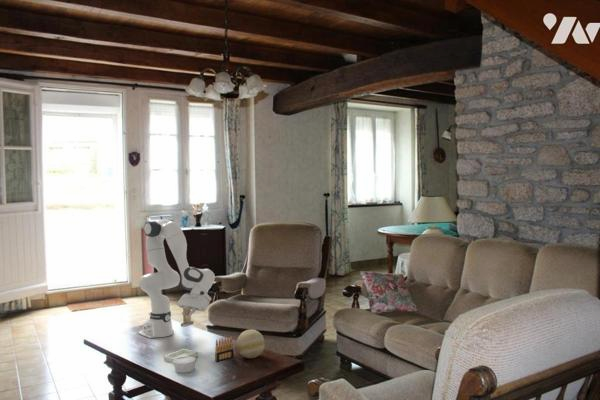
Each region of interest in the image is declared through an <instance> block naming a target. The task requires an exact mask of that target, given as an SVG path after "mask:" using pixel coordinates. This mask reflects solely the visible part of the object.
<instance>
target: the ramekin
mask: <svg viewBox="0 0 600 400" xmlns="http://www.w3.org/2000/svg"><path fill="white" fill-rule="evenodd" d="M196 359H197V358H196V357H191V356H184V357H179V358H176V359H174V360H173V363H172V364H173V367H174V371H175V372H176V373H178V374H188V373H191V372H193V371H194V369H195V367H196V361H197V360H196Z"/></svg>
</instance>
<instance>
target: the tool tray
mask: <svg viewBox="0 0 600 400" xmlns="http://www.w3.org/2000/svg"><path fill="white" fill-rule="evenodd" d="M184 356H191V357H194V358H197V357H198V356H199V353H198V351H197V350H192V349H188V348H182V349H179V350H176V351H174V352H171V353H169V354H166V355H163V361H165V362H167V363H172V364H174V363H173V360H174V359H176V358H179V357H184Z"/></svg>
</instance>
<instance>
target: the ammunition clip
mask: <svg viewBox="0 0 600 400" xmlns="http://www.w3.org/2000/svg"><path fill="white" fill-rule="evenodd" d="M233 345H234V343H233V337H232V335H231V336H230V337H229V336H228V337H224V338H223V337H222V338H219V339H215V347H214V348H215V352H214V362H215V363H217V364H218V363H221V362H225V361H229V360H233V359H234V358H235V354H234V346H233Z"/></svg>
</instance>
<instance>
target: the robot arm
mask: <svg viewBox="0 0 600 400" xmlns="http://www.w3.org/2000/svg"><path fill="white" fill-rule="evenodd" d="M143 232H144V233H143V234H145V236H146V237H145V250H146V259H147V263H148V265H149V266H151V267H153V268H155V269H156V270H157V272H151V273H147V274H143V275H142V276H141V277H140V278H139V281H138V283H139V285H138V286H139V287H140V290H142V292H144V293H146V294H147V296H148V297H149V299H150V304H151V307H150V308H151V312H149V313H148V315H149V318H148V319H146V320H145V321H144V322H143V324H142V329H141V330H140V331H138V334H139V335H141V336H143V337H146V338H149V339H153V338H164V337H166V338H167V337H168V336H171V335H173V334H174V328H173V323H172V322H173V321H172V312H171V302H170V301H171V300H170V298H169V297H168V296H167V295H164V294H163V293H162V290H167V289H168V290H169V289H171V288H175V287H178V286H179V284H180V285H181V287H182V288H183V289H184V290H186V291H189V292H190V293H189V292H185V293H184V294H183V295H182V296H181V297H180V298H179V299H178V300H177V304H176V305H177V306H178V307H179V308H182V309H183V308H184V307H191V311H190V312H188V316H191V317H192V315H193V314H194V313H195V312H196V311H197V312H198V311H200V312H205V311H207V309H208V307H209V304H210V302H211V300H212V297H211V296H210V295H209V294H208V291H209V290H210V289H211V288H212V286H213V284H214V281H215V279H216V276H215V273H214V272H213V270H211V269H209V268H197V267H195V266H189V265H190V264H189V262H188V259H187V251H188V248H187V247H188V243H187V239H186V236H185V234H184V231H183V230H182V228H181V226H180V225H179V223H177V222H176V221H175V220H173V219H151V220H150V219H149V220H147V221H145V223H144V225H143ZM164 240H165V241H166V244H167V246H168V248H169V250H170V251H171V254H172V256H173V258H174V260H175V262H176V265H177V268H178V270H179V273H178V271H177V270H174V269H173V268H172V267H171V265H170V264H169V263H168V260H167V257H166V256H167V255H166V251H165V250H166V249H165V246H164ZM181 314H182V315H183V311H182V312H181Z"/></svg>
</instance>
